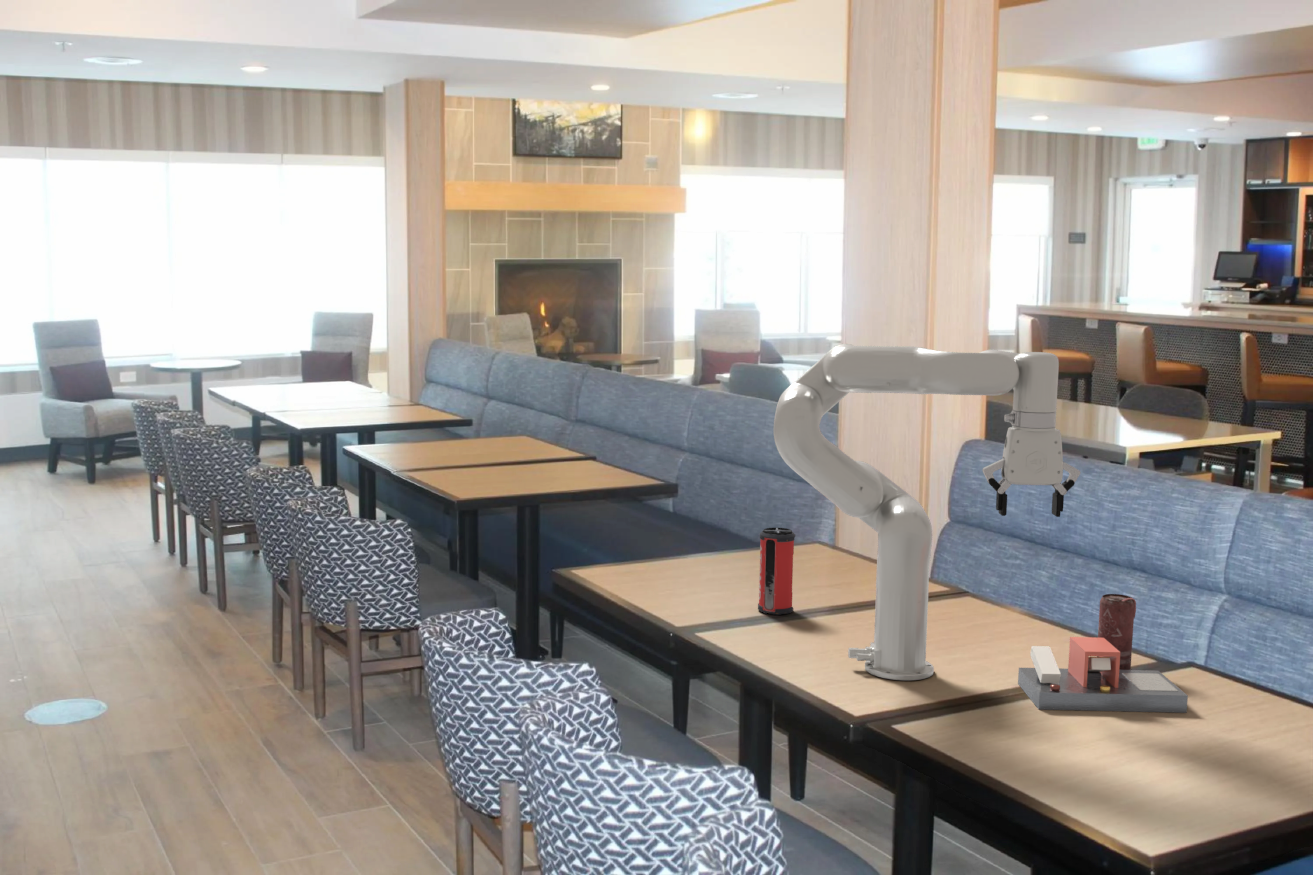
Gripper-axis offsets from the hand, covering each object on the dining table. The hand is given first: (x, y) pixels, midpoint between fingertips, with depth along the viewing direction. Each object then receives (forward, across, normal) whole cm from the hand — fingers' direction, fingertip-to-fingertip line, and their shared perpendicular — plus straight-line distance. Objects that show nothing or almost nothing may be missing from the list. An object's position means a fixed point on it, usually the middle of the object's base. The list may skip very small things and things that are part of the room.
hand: (1029, 514), depth 235 cm
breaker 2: (+25, +10, -10) cm, 29 cm away
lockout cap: (+27, +10, -10) cm, 31 cm away
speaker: (+31, -42, +44) cm, 68 cm away
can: (+31, +19, +6) cm, 36 cm away
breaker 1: (+25, +2, -10) cm, 27 cm away
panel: (+30, +11, -11) cm, 34 cm away
